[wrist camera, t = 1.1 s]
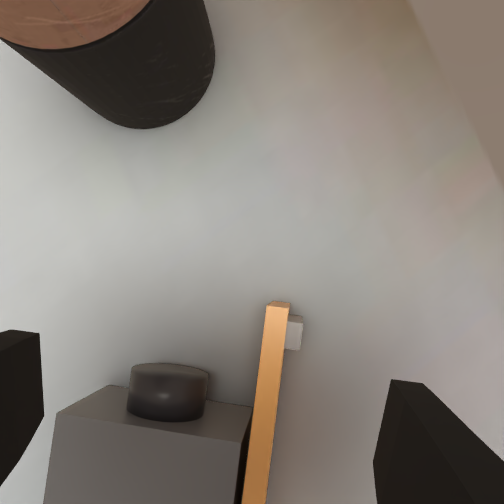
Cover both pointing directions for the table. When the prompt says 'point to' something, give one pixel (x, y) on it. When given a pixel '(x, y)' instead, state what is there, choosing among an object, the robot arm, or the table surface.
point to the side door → (268, 396)
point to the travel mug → (118, 53)
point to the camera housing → (150, 443)
